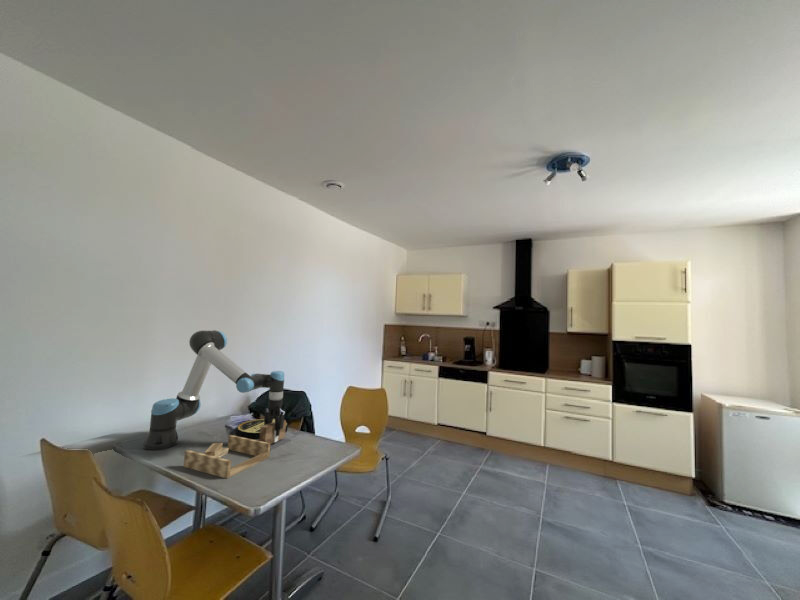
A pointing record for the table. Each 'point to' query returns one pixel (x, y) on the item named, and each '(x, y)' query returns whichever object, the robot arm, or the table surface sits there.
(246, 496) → the table surface
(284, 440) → the mat
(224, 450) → the slab long
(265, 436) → the brown wooden block
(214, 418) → the table surface
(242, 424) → the sign
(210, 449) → the slab short
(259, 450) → the rack
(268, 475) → the table surface
